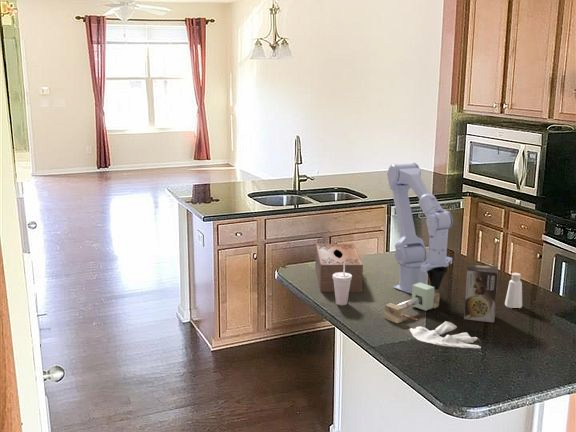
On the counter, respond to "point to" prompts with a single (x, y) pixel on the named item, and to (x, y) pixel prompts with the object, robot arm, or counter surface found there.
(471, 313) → the printed cardboard box
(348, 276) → the smoothie
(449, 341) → the cloth
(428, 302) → the collar
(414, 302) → the pipe
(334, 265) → the tissue box cover
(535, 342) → the counter surface
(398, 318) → the pipe supports
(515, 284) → the pepper shaker
